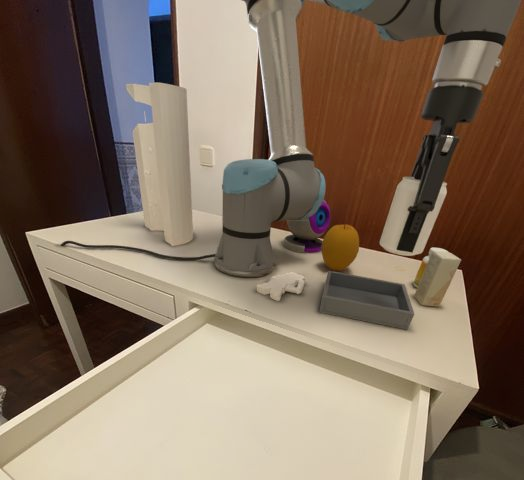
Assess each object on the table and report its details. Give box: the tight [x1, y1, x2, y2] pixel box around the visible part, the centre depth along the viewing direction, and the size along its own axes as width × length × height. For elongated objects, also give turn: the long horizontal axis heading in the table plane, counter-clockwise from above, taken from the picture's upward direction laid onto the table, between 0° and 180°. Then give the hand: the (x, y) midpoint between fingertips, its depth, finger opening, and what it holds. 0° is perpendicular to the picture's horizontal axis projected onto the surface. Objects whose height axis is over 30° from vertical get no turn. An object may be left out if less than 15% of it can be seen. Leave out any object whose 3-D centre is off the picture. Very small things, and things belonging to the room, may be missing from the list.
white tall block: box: [125, 81, 194, 247], centre depth 84 cm, size 35×11×21 cm
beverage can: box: [379, 176, 448, 257], centre depth 55 cm, size 8×8×12 cm
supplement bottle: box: [412, 247, 449, 289], centre depth 75 cm, size 5×5×10 cm
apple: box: [320, 223, 360, 272], centre depth 80 cm, size 10×10×12 cm
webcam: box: [283, 199, 331, 254], centre depth 92 cm, size 13×13×15 cm
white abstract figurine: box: [256, 271, 306, 302], centre depth 69 cm, size 9×12×2 cm
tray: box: [318, 270, 415, 330], centre depth 65 cm, size 18×15×4 cm
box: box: [413, 251, 462, 308], centre depth 68 cm, size 5×4×11 cm
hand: (401, 243), depth 58 cm, fingers closed on beverage can, 8 cm apart
